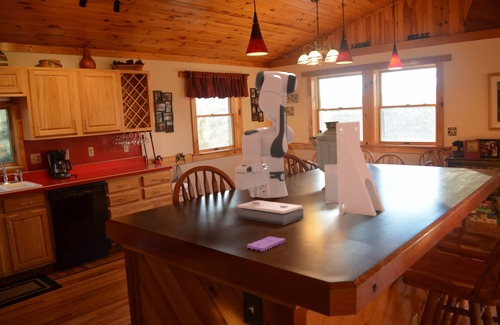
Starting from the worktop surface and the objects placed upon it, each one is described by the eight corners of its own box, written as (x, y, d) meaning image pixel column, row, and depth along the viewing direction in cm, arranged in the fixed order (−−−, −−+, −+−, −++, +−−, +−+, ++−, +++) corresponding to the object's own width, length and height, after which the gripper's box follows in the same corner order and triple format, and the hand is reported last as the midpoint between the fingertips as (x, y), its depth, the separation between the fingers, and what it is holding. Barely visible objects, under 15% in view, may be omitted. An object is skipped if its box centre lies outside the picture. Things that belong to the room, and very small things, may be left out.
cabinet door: (237, 207, 180) (237, 203, 180) (257, 202, 191) (257, 199, 191) (283, 213, 163) (283, 209, 163) (303, 208, 173) (303, 204, 173)
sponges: (247, 250, 136) (246, 244, 136) (270, 240, 145) (269, 235, 145) (263, 253, 131) (262, 248, 131) (285, 243, 141) (285, 238, 141)
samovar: (372, 188, 236) (370, 119, 232) (341, 194, 221) (338, 121, 217) (335, 183, 260) (332, 121, 256) (304, 188, 246) (302, 123, 242)
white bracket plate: (369, 218, 167) (367, 121, 163) (338, 214, 177) (336, 123, 173) (389, 208, 182) (387, 120, 178) (359, 205, 192) (357, 121, 188)
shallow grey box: (237, 217, 181) (237, 208, 180) (258, 211, 191) (257, 202, 191) (284, 225, 163) (283, 215, 163) (303, 217, 174) (303, 208, 173)
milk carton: (340, 203, 199) (338, 165, 197) (325, 203, 201) (324, 165, 199) (339, 200, 206) (338, 163, 204) (325, 200, 208) (324, 163, 206)
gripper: (262, 163, 190) (263, 192, 192) (231, 168, 175) (233, 199, 177) (272, 163, 186) (273, 193, 188) (242, 169, 171) (243, 201, 173)
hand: (254, 196), depth 182 cm, fingers closed
